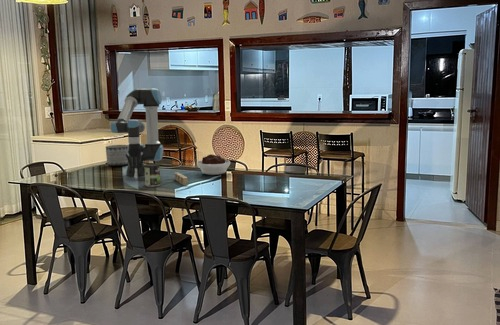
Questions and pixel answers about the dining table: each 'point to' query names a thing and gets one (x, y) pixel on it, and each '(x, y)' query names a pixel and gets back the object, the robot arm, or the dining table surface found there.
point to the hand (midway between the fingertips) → (136, 178)
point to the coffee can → (152, 175)
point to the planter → (116, 155)
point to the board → (181, 178)
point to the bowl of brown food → (213, 165)
